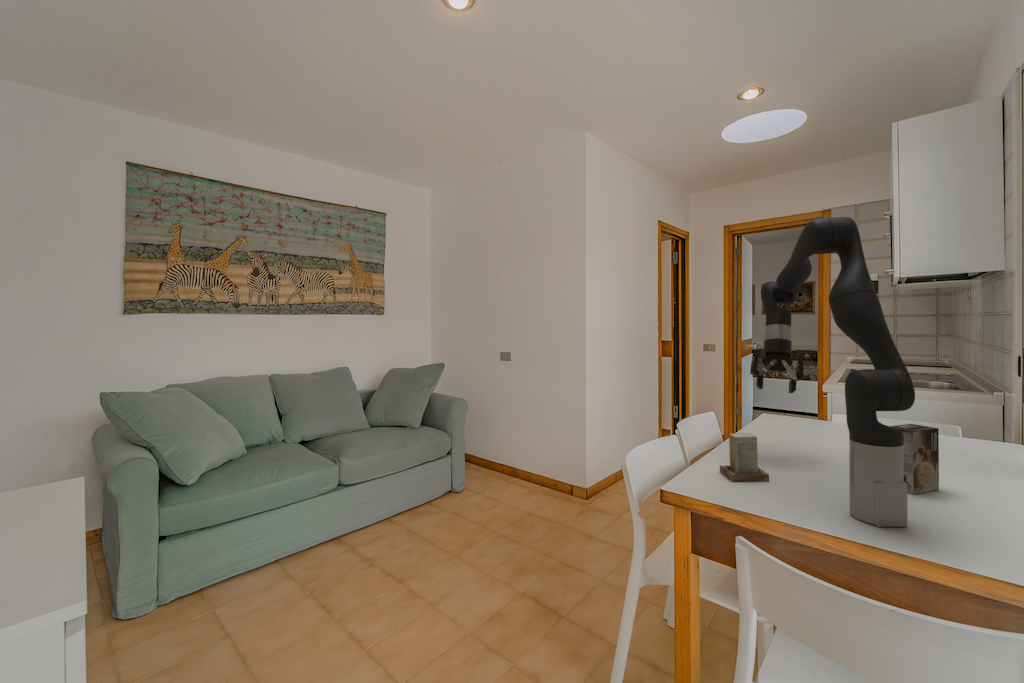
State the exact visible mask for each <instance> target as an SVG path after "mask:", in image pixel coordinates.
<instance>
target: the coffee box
mask: <svg viewBox="0 0 1024 683" xmlns="http://www.w3.org/2000/svg"><path fill="white" fill-rule="evenodd" d="M890 427H893V428H896V429H898V430H900V431H901V432H902V433H903V436H904V482H906V483H907V492H909V493H908V494H910V493H911V494H910V495H913V494H915V495H919V493H920V494H924V492H925V493H929V491H930V492H934V490H936V491H939V490H940V482H939V481H940V472H939V471H940V469H939V468H940V466H939V464H940V463H939V462H940V459H939V458H940V457H939V455H940V454H939V453H940V452H939V449H940V448H939V445H940V444H939V428H938V427H933V426H925V425H922V424H915V423H908V424H907V423H905V424H898V425H891V426H890Z"/></svg>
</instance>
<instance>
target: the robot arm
mask: <svg viewBox="0 0 1024 683" xmlns="http://www.w3.org/2000/svg"><path fill="white" fill-rule="evenodd" d="M827 254H828V255H829V254H837V256H838V257H839V261H840V271H839V273H838V275H837V278H836V280H835V282H834V283H833V285H832V287H831V289H830V292H829V294H828V304H829V306H830V311H831V314H832V318H833V320H834V323H835V324H836V327H837V328H838V329H839V330H840V331H841V332H842V333H843V334H844V335H846V336H847V337H848V338H849V339H850V340H851V341H853V342H854V343H855V344H857V346H859V348H860V349H862V350H863V351H864V353H865V354H866V355H867V356H868V358H869V360H870V361H871V364H872V365H873V369H872V368H871V369H870V368H869V369H868V368H867V369H853V370H851V371H850V372H849V373H848V374H847V376H846V379H845V384H844V399H845V412H846V414H845V415H846V424H847V429H848V435H849V440H848V441H849V442H848V444H849V447H848V448H849V449H848V450H849V451H848V453H849V454H848V455H849V461H848V462H849V464H848V465H849V469H848V470H849V472H848V473H849V474H848V476H849V479H848V480H849V481H848V482H849V488H848V489H849V492H848V493H849V496H848V497H849V514H850V515H851V516H852V517H853V518H855V519H857V520H859V521H862V522H864V523H867V524H871V525H873V526H876V527H878V528H879V527H880V528H885V527H887V528H888V527H889V528H896V527H897V528H898V527H901V528H902V527H903V528H906V527H908V493H907V483H906V482H904V436H903V433H902V432H901V431H900V430H898V429H896V428H893V427H890V426H889V425H886V424H883V423H881V422H880V421H879V420H878V416H877V412H904V411H907V410H909V409H911V408H912V407H913V406H914V403H915V401H916V392H915V385H914V382H913V379H912V377H911V375H910V373H909V371H908V368H907V367H906V364H905V362H904V360H903V359H902V356H901V354H900V352H899V351H898V349H897V347H896V344H895V342H894V340H893V337H892V334H891V332H890V330H889V329H890V328H889V327H888V323H887V322H886V321H887V320H886V319H885V315H884V311H883V308H882V304H881V302H880V299H879V297H878V294H877V291H876V289H875V286H874V284H873V282H872V278H871V275H870V271H869V269H868V266H867V262H866V259H865V254H864V249H863V244H862V240H861V236H860V231H859V227H858V225H857V222H856V221H855V219H853V218H852V217H849V216H834V217H832V216H830V217H820V218H819V217H818V218H815V219H812V220H810V221H808V222H807V223H806V224H805V226H804V228H803V229H802V231H801V233H800V235H799V237H798V239H797V242H796V243H795V245H794V248H793V251H792V253H791V256H790V258H789V260H788V262H787V263H786V264H785V266H784V267H783V269H782V270H781V271H780V272H779V274H778V275H777V277H776V281H772V280H771V281H767V282H764V284H762V286H761V289H760V297H761V298H760V299H761V302H762V304H763V308H764V313H765V329H764V334H763V352H762V353H763V355H762V356H759V355H757V354H756V355H754V356H752V357H751V363H750V371H749V373H750V375H752V376H755V377H756V382H755V384H756V388H758V390H762V389H763V388H764V375H765V374H766V373H767V372H768V371H769V372H770V373H777V374H778V373H779V374H782V373H783V375H785V377H787V379H788V380H789V382H788V394H793V393H795V392H796V391H797V381H801V380H804V378H805V374H804V373H805V371H804V370H805V369H804V361H803V360H802V359H800V360H799V359H798V360H793V359H792V343H793V342H792V341H793V340H792V338H793V334H792V312H791V310H789V309H787V308H784V307H781V306H779V305H791V304H794V303H795V302H796V301H797V299H798V298H799V293H800V290H801V287H802V286H803V285H804V284H805V283H806V282H807V280H808V279H809V277H810V276H811V274H812V270H813V265H812V263H811V260H810V257H811V256H813V255H827ZM778 304H779V305H778ZM760 362H761V363H762V364H763V365H764V366H763V367H762V369H761V370H759V371H758V364H759V363H760ZM792 365H793V367H794V368H795V373H794V371H793V369H792V368H791V366H792Z"/></svg>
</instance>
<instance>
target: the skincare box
mask: <svg viewBox="0 0 1024 683" xmlns="http://www.w3.org/2000/svg"><path fill="white" fill-rule="evenodd" d="M728 439H729V445H728V446H729V465H730V470H731V471H732V472H733V473H758V468H759V462H758V461H759V459H758V458H759V457H758V455H759V454H758V437H757V436H756V435H755V434H753V433H751V432H743V433H742V432H740V433H729V434H728Z"/></svg>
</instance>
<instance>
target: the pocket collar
mask: <svg viewBox="0 0 1024 683" xmlns="http://www.w3.org/2000/svg"><path fill="white" fill-rule="evenodd" d="M720 472H721V473H722V474H721V473H720ZM719 473H720V474H721V475H723V476H724V477H725V476H726V477H727V478H726V477H725V478H726V479H728V480H729V481H730V480H731V482H732V483H760V482H759V481H769V482H770V474H769V473H767V472H766V471H764V470H763V469H761V468H760V467H758V473H733V472H732V471H731V470H730V464H729V465H719ZM756 481H758V482H756Z"/></svg>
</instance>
